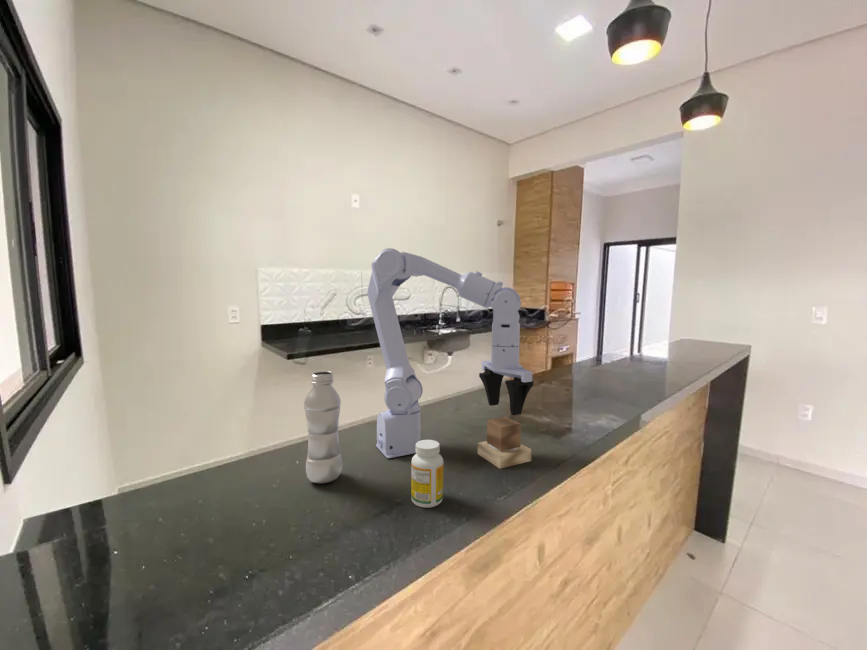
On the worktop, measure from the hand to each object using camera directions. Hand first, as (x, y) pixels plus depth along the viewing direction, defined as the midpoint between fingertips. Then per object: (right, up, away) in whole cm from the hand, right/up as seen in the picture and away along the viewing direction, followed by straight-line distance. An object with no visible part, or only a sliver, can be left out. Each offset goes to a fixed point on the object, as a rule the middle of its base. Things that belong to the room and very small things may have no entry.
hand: (504, 409), depth 80 cm
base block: (0, -10, +1) cm, 10 cm away
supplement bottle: (-16, -12, -16) cm, 26 cm away
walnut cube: (0, -8, 0) cm, 8 cm away
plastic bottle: (-35, -11, -9) cm, 38 cm away
